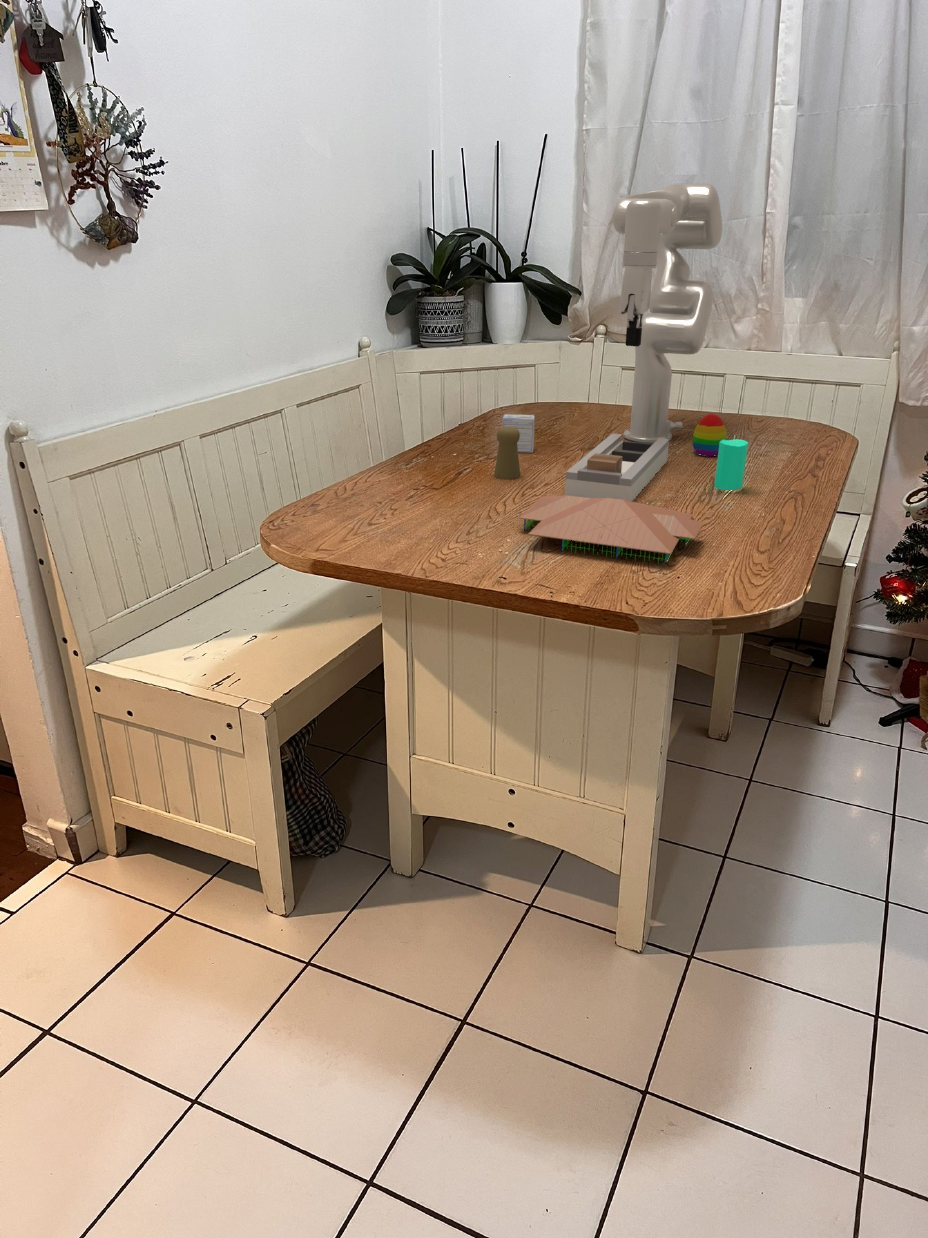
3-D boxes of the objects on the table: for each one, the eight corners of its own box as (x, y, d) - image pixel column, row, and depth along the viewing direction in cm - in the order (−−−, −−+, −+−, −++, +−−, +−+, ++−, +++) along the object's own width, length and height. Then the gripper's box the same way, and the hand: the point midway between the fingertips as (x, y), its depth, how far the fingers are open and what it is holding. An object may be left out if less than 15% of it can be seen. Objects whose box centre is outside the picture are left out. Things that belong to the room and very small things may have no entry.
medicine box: (533, 448, 234) (535, 414, 231) (533, 453, 230) (534, 418, 227) (502, 447, 235) (503, 413, 231) (501, 452, 231) (502, 417, 227)
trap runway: (610, 455, 229) (612, 431, 226) (667, 461, 224) (669, 436, 221) (564, 496, 197) (566, 469, 194) (629, 505, 192) (631, 476, 189)
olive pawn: (523, 473, 213) (525, 425, 209) (516, 480, 208) (517, 431, 204) (498, 470, 215) (499, 423, 211) (490, 477, 210) (491, 429, 205)
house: (685, 573, 159) (690, 528, 155) (504, 547, 170) (505, 504, 166) (705, 532, 178) (710, 491, 175) (541, 511, 189) (543, 472, 186)
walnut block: (594, 471, 201) (595, 453, 199) (621, 474, 198) (622, 456, 197) (586, 478, 196) (587, 459, 194) (614, 481, 193) (615, 462, 192)
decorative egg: (713, 449, 235) (717, 409, 231) (731, 457, 228) (736, 416, 224) (684, 451, 233) (689, 411, 229) (702, 459, 226) (707, 418, 222)
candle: (744, 487, 204) (751, 433, 199) (739, 494, 199) (746, 439, 194) (716, 483, 207) (723, 430, 202) (711, 490, 202) (717, 436, 197)
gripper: (631, 258, 213) (624, 340, 221) (614, 261, 201) (608, 348, 208) (663, 259, 210) (656, 342, 218) (649, 262, 198) (641, 351, 206)
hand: (633, 345), depth 213 cm, fingers closed
